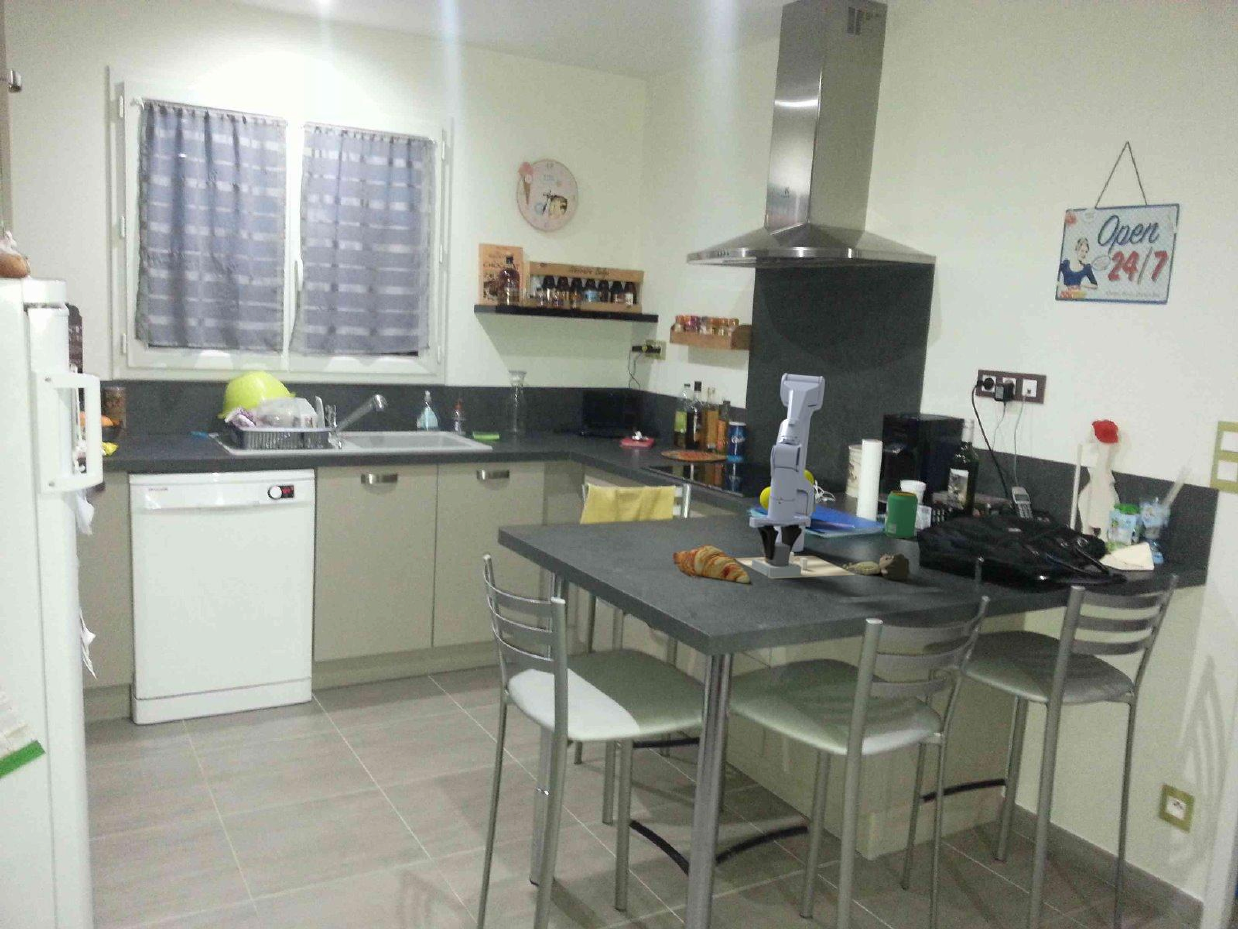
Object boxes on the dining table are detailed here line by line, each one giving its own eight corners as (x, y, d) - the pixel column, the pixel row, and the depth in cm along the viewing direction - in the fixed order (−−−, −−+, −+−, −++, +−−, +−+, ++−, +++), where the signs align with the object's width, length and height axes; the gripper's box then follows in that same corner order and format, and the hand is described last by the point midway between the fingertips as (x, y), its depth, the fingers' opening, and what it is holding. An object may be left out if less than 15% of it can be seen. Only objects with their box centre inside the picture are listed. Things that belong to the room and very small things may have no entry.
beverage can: (886, 531, 283) (891, 489, 282) (915, 535, 280) (920, 493, 278) (881, 536, 276) (886, 493, 274) (911, 540, 273) (916, 497, 271)
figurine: (853, 551, 237) (914, 552, 227) (855, 579, 237) (916, 580, 227) (837, 556, 231) (898, 557, 221) (839, 584, 231) (901, 586, 221)
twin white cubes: (785, 562, 234) (786, 551, 234) (790, 561, 234) (791, 551, 234) (802, 569, 228) (803, 559, 227) (806, 569, 228) (807, 559, 228)
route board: (732, 562, 234) (733, 558, 234) (812, 559, 242) (813, 555, 242) (771, 582, 218) (771, 578, 218) (855, 579, 227) (855, 574, 227)
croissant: (754, 601, 216) (768, 567, 217) (731, 586, 209) (746, 551, 210) (678, 576, 230) (692, 544, 231) (654, 561, 223) (669, 528, 224)
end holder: (751, 568, 226) (752, 559, 226) (782, 566, 229) (783, 558, 229) (769, 577, 219) (770, 568, 219) (800, 575, 222) (801, 566, 222)
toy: (841, 505, 277) (830, 468, 288) (787, 490, 273) (778, 453, 284) (813, 543, 287) (804, 505, 298) (760, 529, 283) (753, 492, 294)
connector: (755, 557, 229) (757, 538, 228) (769, 557, 230) (771, 538, 229) (774, 567, 221) (776, 546, 221) (788, 566, 223) (790, 546, 222)
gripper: (763, 502, 215) (757, 564, 217) (820, 501, 221) (814, 562, 223) (747, 495, 222) (741, 555, 224) (803, 495, 227) (796, 554, 230)
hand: (776, 558), depth 224 cm, fingers closed on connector, 3 cm apart
